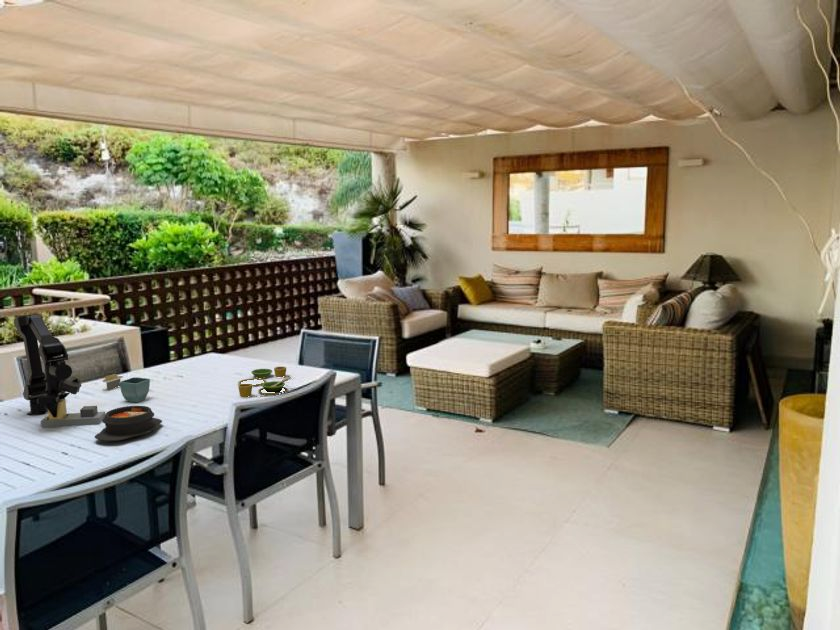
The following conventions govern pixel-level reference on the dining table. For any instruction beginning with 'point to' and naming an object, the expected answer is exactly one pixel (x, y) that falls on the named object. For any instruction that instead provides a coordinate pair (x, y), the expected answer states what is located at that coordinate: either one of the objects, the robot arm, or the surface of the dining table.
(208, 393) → the dining table surface
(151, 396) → the dining table surface
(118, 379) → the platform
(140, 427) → the casserole
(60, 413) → the plug
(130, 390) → the flower pot
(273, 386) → the tableware set
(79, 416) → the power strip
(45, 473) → the dining table surface
